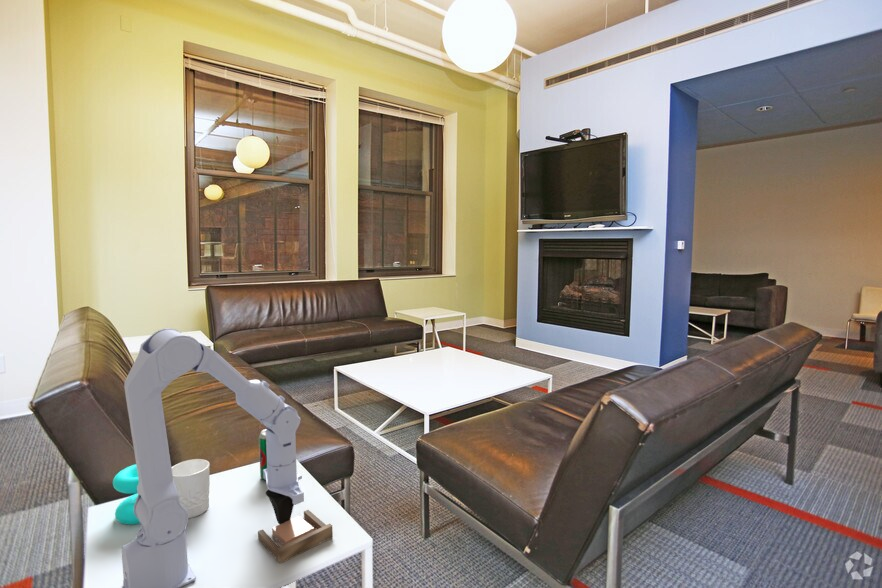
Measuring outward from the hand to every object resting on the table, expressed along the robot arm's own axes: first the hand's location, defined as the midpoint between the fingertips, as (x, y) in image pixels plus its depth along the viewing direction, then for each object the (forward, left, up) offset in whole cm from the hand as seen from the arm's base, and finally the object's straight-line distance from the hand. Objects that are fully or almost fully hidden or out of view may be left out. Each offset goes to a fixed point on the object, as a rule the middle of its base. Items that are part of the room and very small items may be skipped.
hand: (283, 522), depth 96 cm
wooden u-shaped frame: (0, -4, -1) cm, 4 cm away
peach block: (0, -4, -2) cm, 4 cm away
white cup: (-12, +20, -1) cm, 23 cm away
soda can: (+7, +22, -1) cm, 23 cm away
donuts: (-20, +26, -1) cm, 33 cm away
